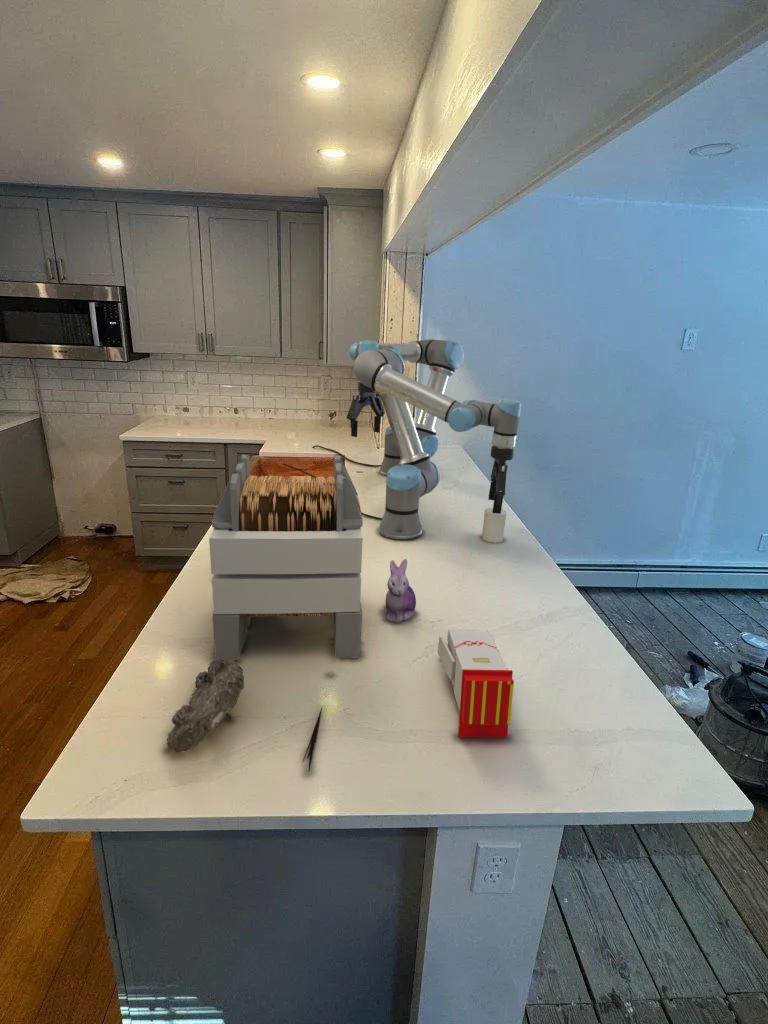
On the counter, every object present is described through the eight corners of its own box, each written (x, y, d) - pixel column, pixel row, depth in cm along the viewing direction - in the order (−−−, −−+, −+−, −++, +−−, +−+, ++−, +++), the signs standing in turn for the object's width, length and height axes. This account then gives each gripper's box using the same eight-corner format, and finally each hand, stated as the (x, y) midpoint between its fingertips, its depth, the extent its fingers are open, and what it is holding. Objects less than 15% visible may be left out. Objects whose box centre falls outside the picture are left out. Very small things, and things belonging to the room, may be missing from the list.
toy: (488, 613, 130) (523, 677, 101) (484, 667, 133) (517, 744, 104) (435, 612, 130) (455, 676, 101) (432, 666, 133) (451, 743, 103)
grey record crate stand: (234, 590, 156) (226, 444, 142) (353, 588, 159) (357, 447, 146) (212, 662, 124) (200, 485, 110) (361, 659, 128) (367, 486, 114)
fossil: (192, 660, 117) (244, 628, 112) (224, 691, 120) (276, 661, 115) (142, 746, 98) (202, 712, 93) (182, 779, 101) (242, 748, 96)
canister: (481, 541, 197) (484, 513, 193) (482, 533, 204) (485, 506, 200) (503, 543, 196) (506, 515, 192) (503, 535, 202) (506, 508, 199)
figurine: (392, 627, 141) (395, 572, 136) (374, 608, 149) (376, 556, 144) (425, 619, 145) (429, 566, 140) (405, 601, 154) (408, 550, 149)
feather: (331, 679, 122) (336, 673, 122) (307, 777, 96) (313, 769, 95) (324, 675, 122) (329, 669, 121) (298, 772, 95) (304, 764, 95)
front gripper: (520, 457, 176) (509, 520, 184) (509, 438, 200) (500, 495, 207) (496, 455, 177) (486, 518, 184) (488, 437, 200) (480, 493, 208)
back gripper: (352, 384, 213) (350, 440, 220) (394, 380, 231) (392, 431, 238) (338, 382, 218) (337, 436, 225) (381, 378, 236) (379, 428, 243)
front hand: (494, 506), depth 196 cm, fingers open, 13 cm apart
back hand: (365, 434), depth 232 cm, fingers open, 13 cm apart
